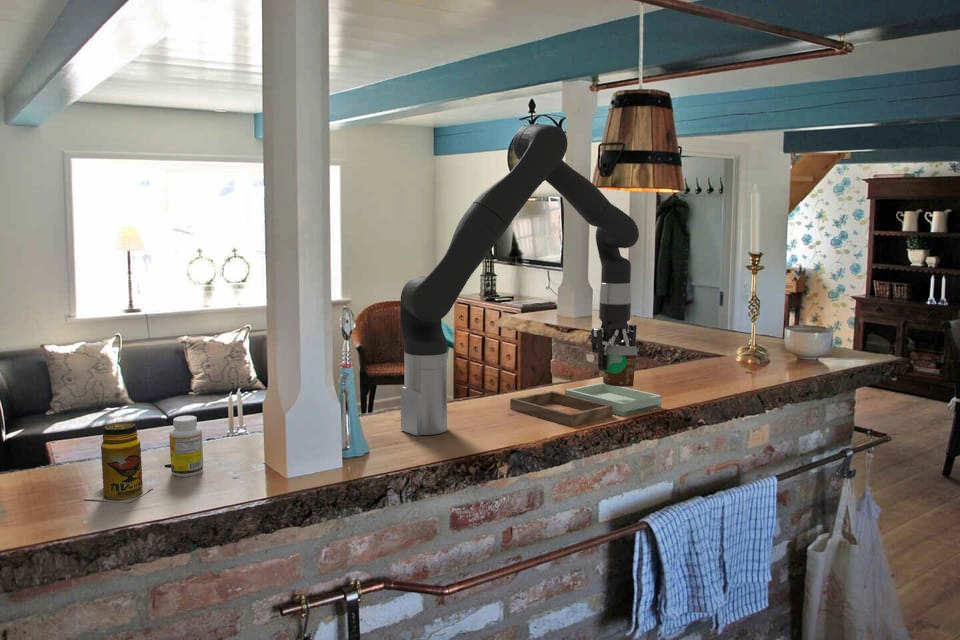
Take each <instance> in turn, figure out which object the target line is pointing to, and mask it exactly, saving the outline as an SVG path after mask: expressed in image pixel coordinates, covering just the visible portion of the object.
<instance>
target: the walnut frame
mask: <svg viewBox="0 0 960 640" xmlns="http://www.w3.org/2000/svg"><path fill="white" fill-rule="evenodd" d="M509 401H510V402H509V403H510V405H509V407H510V408H509V410H511V411H516V412H519V413H523V414H526V415H529V416H533V417H537V418H540V419H542V420H547V421H551V422H553V423H558V424H560V425H563V426H568V427H573V426H578V425H581V424H586V423H591V422H594V421H599V420H604V419H607V418H612V417H613V414H612V407H613V406H610V405H606V404H602V403H598V402H594V401H590V400H586V399H582V398H578V397H574V396H570V395H566V394H565V393H563V392H558V391H554V390H551V391H546V392H545V391H544V392H540V393H536V394H535V393H534V394H528V395H523V396H518V397H514V398H510V399H509ZM550 403H554V404H559V405H561V406H562V405H563V406H565V407H568V408H573V409H576V410H580V411H577V412H572V413H569V412H565V411H562V410H558V409H553V408H550V407H547V406H542V405H545V404H550Z"/></svg>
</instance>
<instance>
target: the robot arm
mask: <svg viewBox="0 0 960 640" xmlns="http://www.w3.org/2000/svg"><path fill="white" fill-rule="evenodd" d="M512 141H513V142H512V149H513V153H514V155H515V156H516V158H517V159H518V160H519V161H518V162H517V163H516V165H514V167H513V168H512V169H511V170H510V171H509V172H508V173H507V174H506V175H504V176H502V178H500V179H499V180H497V181H496V182H495V183H494V184H492V185H490V187H487V188H486V189H485V190H484V191H483V192H481V193H480V195H478V196H476V197H477V198H475V200H474V201H473V202H472V204H471V205H470V206H469V207H468V208H467V210H466V211H465V213H464V214H463V215H462V217H461V218H460V220H459V222H458V224H457V226H456V227H455V230H454V232H453V235H452V238H451V240H450V243H449V246H448V249H447V250H446V253H445V254H444V256H443V257H442V258H441V260H440V261H439V262H438V263H437V264H436V266H435V267H434V269H432V270H431V272H430V273H429V274H428V275H427V276H423V275H422V276H416V277H413V278H410V279H409V280H408V281H407V282H406V283H405V284H404V285H403V288H402V290H401V294H400V304H399V307H400V311H399V312H400V333H401V337H402V338H401V339H402V341H403V347H404V348H403V349H404V352H403V355H404V356H403V358H404V362H403V363H404V366H403V368H404V369H403V370H404V371H403V372H404V373H403V374H404V378H403V379H404V382H403V383H404V386H401V387H400V430H401V431H403V432H405V433H409V434H410V435H414V436H416V437H417V436H418V437H419V436H431V435H438V434H443V433H446V432H447V430H448V340H447V338H446V336H445V333H444V331H443V323H442V319H443V318H445V317H446V316H448V315H447V314H449V313H450V311H451V310H452V308H453V307H454V305H455V303H456V301H457V300H458V298H459V295H460V294H461V292H462V291H463V290H464V287H465V286H466V284H467V282H468V281H469V279H470V278H471V276H472V275H473V274H474V272H475V271H476V270H477V269H478V267H479V266H480V265H481V264H482V263H483V261H484V259H485V258H486V257H487V256H488V254H489V253H490V252H491V251H492V249H493V248H494V246H495V245H496V244H497V243H498V242H499V240H500V239H501V238H502V236H503V235H504V233H505V232H506V231H507V230H508V228H509V226H510V225H511V224H512V222H513V220H514V219H515V217H517V216H518V214H519V213H520V212H521V210H522V209H523V208H524V206H525V205H526V203H527V202H528V200H530V198H531V197H532V196H533V194H534V193H535V192H536V190H538V188H539V187H540V186H541V185H542V184H543V182H545V181H546V183H548V185H550V186H552V187H553V188H554V190H555V191H557V193H559V194H560V195H561V196H562V197H563V198H564V199H565V200H566V202H568V203H569V204H570V205H571V206H572V208H573V209H574V210H575V211H576V212H577V213H578V214H579V215H580V216H581V218H583V220H585V222H586V223H588V224H589V225H590V226H592V227H595V228H596V231H595V242H596V248H597V252H598V256H599V260H600V264H601V272H600V273H601V274H600V275H601V278H600V289H599V308H598V309H599V311H598V313H599V315H598V319H599V320H600V321H601V326H600V327H598V328H596V327H592V328H591V331H590V332H591V352H592V353H595V354H597V356H598V357H597V367H598V370H599V371H602V372H603V371H605V370H607V362H608V356H607V354H608V350H609V348H610V347H611V345H613V343H614V344H618V345H625V346H627V347H633V346H636V343H637V341H636V340H637V329H638V328H637V327H638V326H637V324H632V323H628V322H630V321H631V314H632V313H631V309H632V308H631V307H632V305H631V304H632V288H631V278H632V277H631V276H632V275H631V270H632V267H631V266H632V264H631V261H630V260H629V259H628V258H625V257H623V256H622V255H621V251H620V249H629V248H632V247H633V246H635V245H636V244H637V242H638V241H639V237H640V230H639V227H638V225H637V223H636V221H635V220H634V219H633V218H632V217H630V215H628V214H627V213H625V212H624V211H623V210H621V208H619V207H617V206H616V205H614V204H613V203H611V202H610V201H609V199H607V197H606V196H605V195H604V194H603V193H602V191H601V190H600V189H599V188H598V187H597V186H596V185H595V184H594V183H593V182H592V181H590V180H589V179H588V178H586V176H584V175H582V174H581V173H579V172H578V171H577V170H575V169H574V168H572V167H571V166H570V165H569V164H568V163H566V162H565V161H564V158H565V155H566V153H567V150H568V145H569V144H568V137H567V135H566V133H565V131H564V130H563V129H562V128H561V127H560V126H559V127H558V126H556V125H553V124H540V123H532V124H525V125H523V126H521V127H520V128H518V130H517V131H516V132H515V134H514V136H513V140H512ZM604 341H606V342H604ZM603 347H605V348H604V350H603Z"/></svg>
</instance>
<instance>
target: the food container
mask: <svg viewBox="0 0 960 640" xmlns="http://www.w3.org/2000/svg"><path fill="white" fill-rule="evenodd" d="M604 342H606V341H604ZM604 348H605V347H603V350H604ZM607 356H608V362H607V370H605V371H603V370H602V383H604V384H607V385H611V386H618V387H625V388H630V387H631V388H632V387H634V382H635V381H634V379H635V369H636V361H637V360H636V359H637V356H638V349H637V346H636V345H635V346H633V347H627V346H625V345H618V344H617V343H613V345H611V347H610V348H609V350H608V354H607Z"/></svg>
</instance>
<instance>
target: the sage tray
mask: <svg viewBox="0 0 960 640" xmlns="http://www.w3.org/2000/svg"><path fill="white" fill-rule="evenodd" d="M564 394H566V395H570V396H574V397H578V398H582V399H586V400H590V401H594V402H598V403H602V404H606V405H610V406H613V407H612V415H615V416H619V417H627V416H631V415H635V414H640V413H645V412H649V411H652V410H651V409H653V410H655V409H654V408H658V409H660V408H659V407H661V408H662V395H661V394H655V393H652V392H646V391H642V390H639V389H633V388H630V387H618V386H611V385H607V384H604V383H603V382H599V383H593V384H590V385H583V386H579V387H571V388H567V389H565V390H564ZM648 410H649V411H648Z"/></svg>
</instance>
